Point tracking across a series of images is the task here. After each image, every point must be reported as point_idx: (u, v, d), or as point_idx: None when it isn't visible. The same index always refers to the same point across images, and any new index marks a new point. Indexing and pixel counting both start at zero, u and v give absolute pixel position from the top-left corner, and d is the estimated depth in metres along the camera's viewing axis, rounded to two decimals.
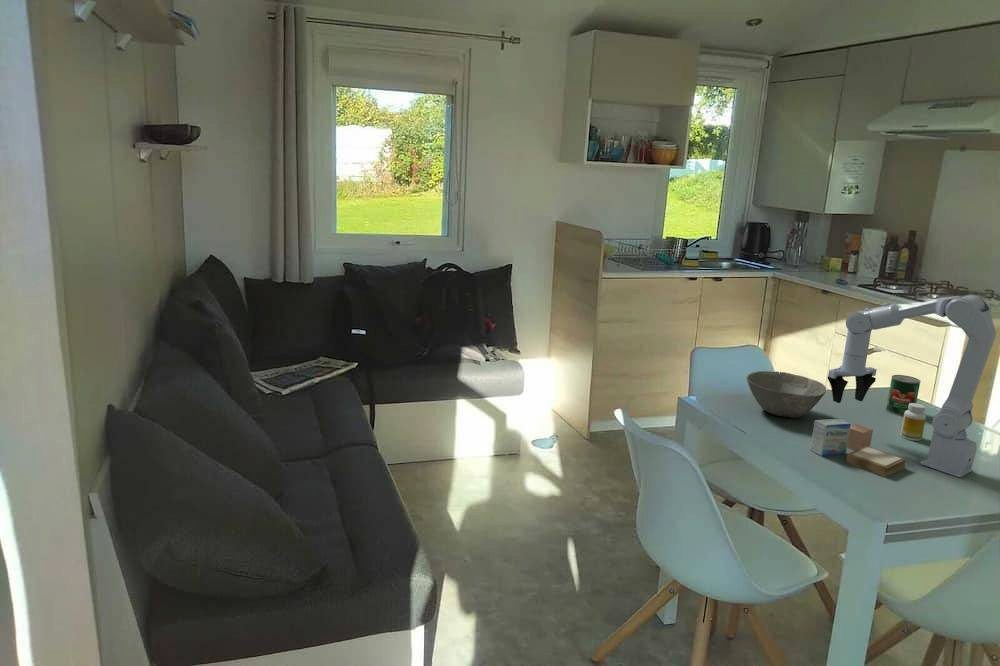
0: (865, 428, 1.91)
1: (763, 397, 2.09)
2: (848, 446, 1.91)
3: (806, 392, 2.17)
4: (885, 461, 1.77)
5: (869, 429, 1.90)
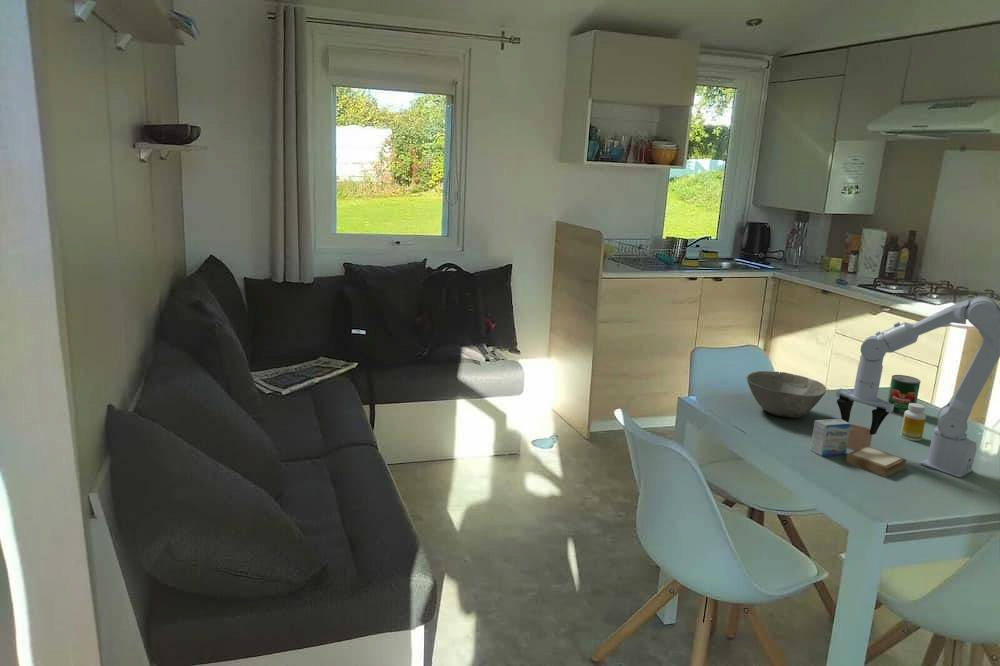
0: (865, 428, 1.91)
1: (763, 397, 2.09)
2: (848, 446, 1.91)
3: (806, 392, 2.17)
4: (885, 461, 1.77)
5: (869, 429, 1.90)
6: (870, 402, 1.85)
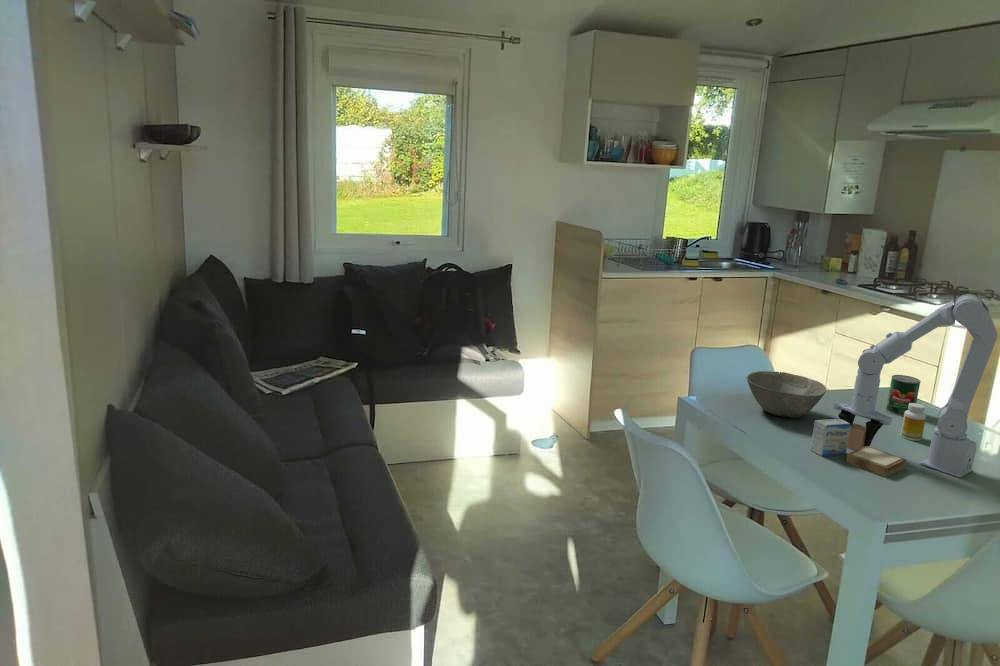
0: (865, 428, 1.91)
1: (763, 397, 2.09)
2: (848, 446, 1.91)
3: (806, 392, 2.17)
4: (885, 461, 1.77)
5: None
6: (868, 415, 1.86)
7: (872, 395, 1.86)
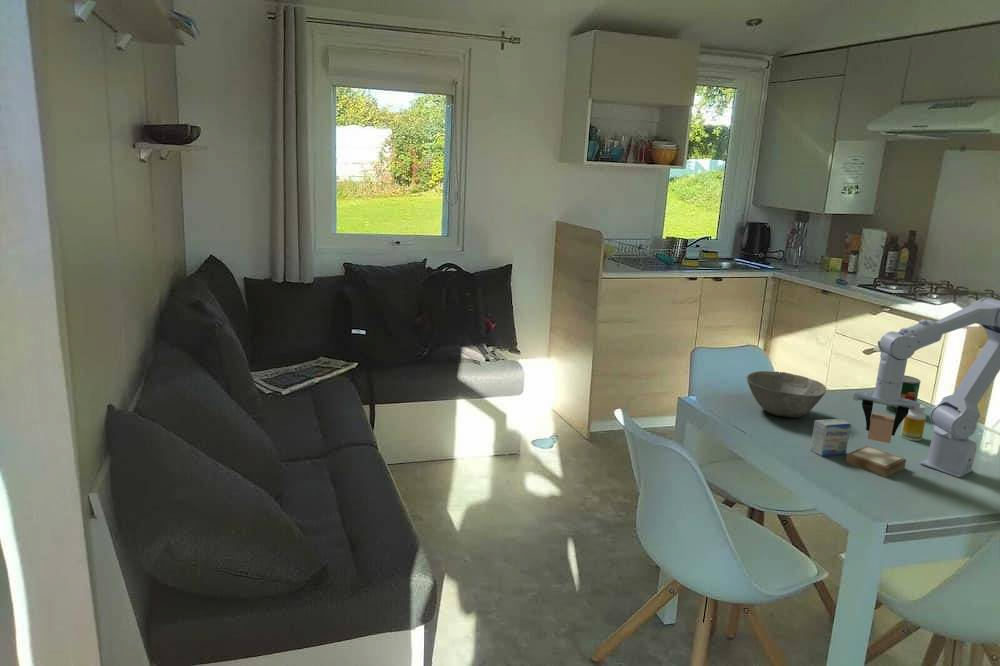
0: (887, 416, 1.79)
1: (763, 397, 2.09)
2: (875, 438, 1.77)
3: (806, 392, 2.17)
4: (885, 461, 1.77)
5: (892, 417, 1.78)
6: (898, 403, 1.74)
7: (902, 381, 1.73)
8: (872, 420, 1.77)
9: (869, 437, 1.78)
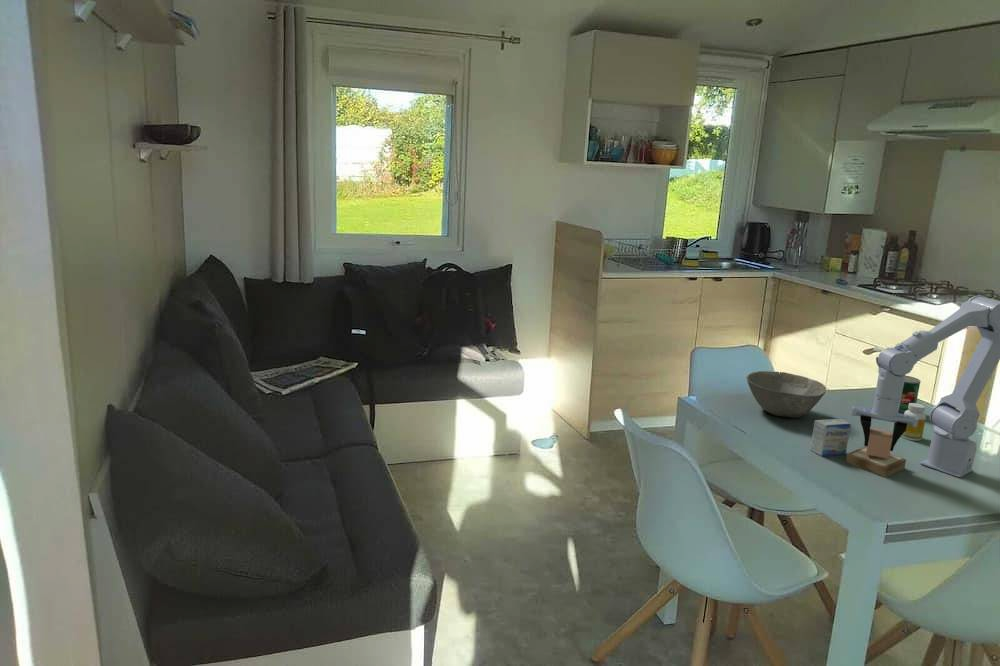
0: (885, 432, 1.79)
1: (763, 397, 2.09)
2: (873, 454, 1.78)
3: (806, 392, 2.17)
4: (885, 461, 1.77)
5: (890, 432, 1.79)
6: (897, 419, 1.74)
7: (900, 396, 1.74)
8: (871, 436, 1.77)
9: (868, 453, 1.78)
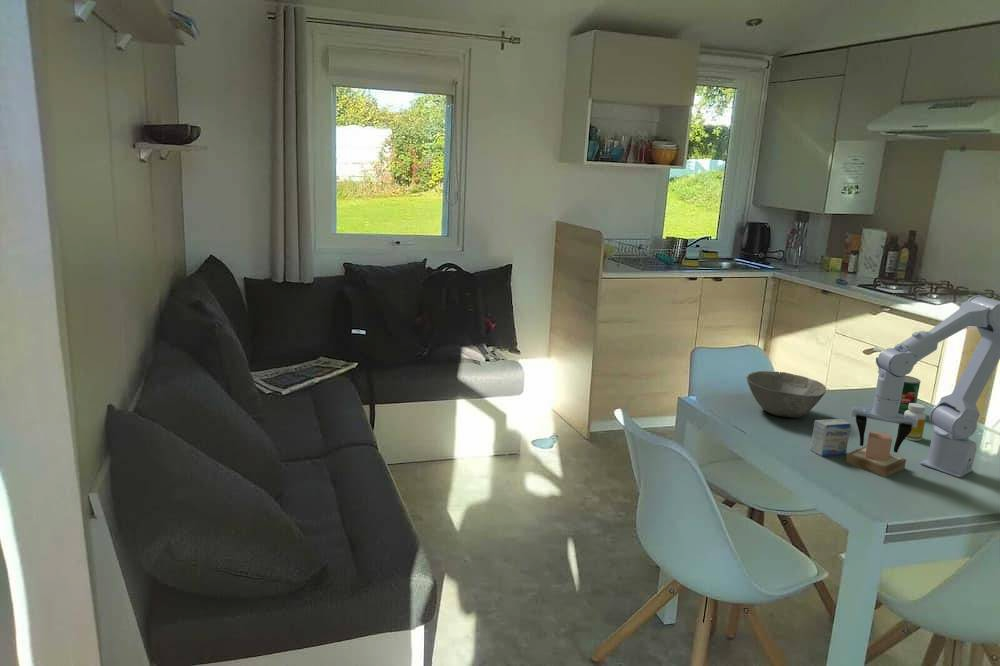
0: (885, 435, 1.79)
1: (763, 397, 2.09)
2: (873, 457, 1.78)
3: (806, 392, 2.17)
4: (885, 461, 1.77)
5: (890, 435, 1.79)
6: (896, 419, 1.74)
7: (900, 397, 1.74)
8: (870, 439, 1.77)
9: (867, 455, 1.79)
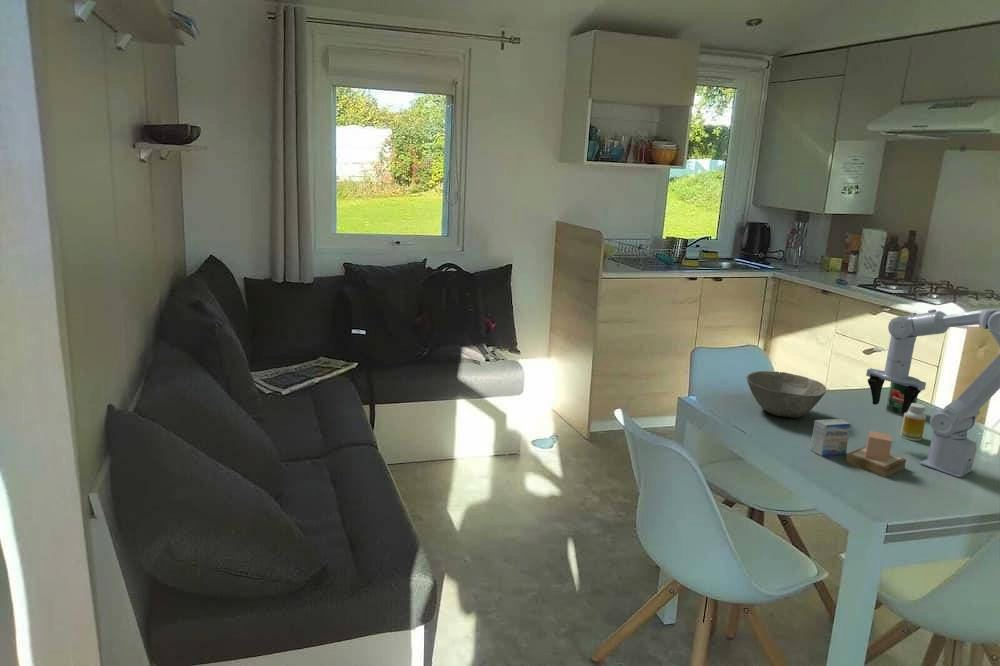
0: (885, 435, 1.79)
1: (763, 397, 2.09)
2: (873, 457, 1.78)
3: (806, 392, 2.17)
4: (885, 461, 1.77)
5: (890, 435, 1.79)
6: (902, 381, 1.87)
7: (901, 360, 1.87)
8: (870, 439, 1.77)
9: (867, 455, 1.79)
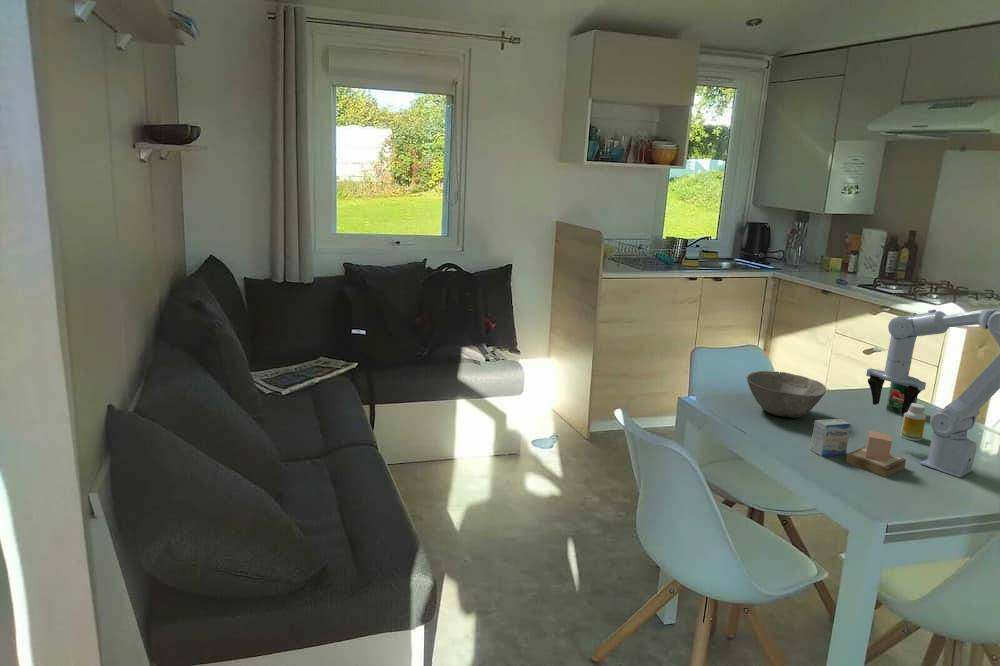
0: (885, 435, 1.79)
1: (763, 397, 2.09)
2: (873, 457, 1.78)
3: (806, 392, 2.17)
4: (885, 461, 1.77)
5: (890, 435, 1.79)
6: (902, 381, 1.87)
7: (901, 360, 1.87)
8: (870, 439, 1.77)
9: (867, 455, 1.79)
